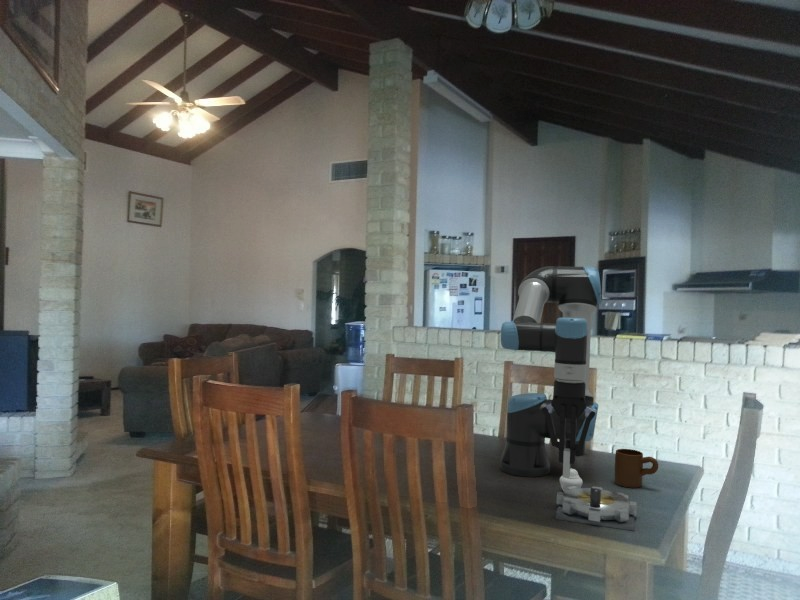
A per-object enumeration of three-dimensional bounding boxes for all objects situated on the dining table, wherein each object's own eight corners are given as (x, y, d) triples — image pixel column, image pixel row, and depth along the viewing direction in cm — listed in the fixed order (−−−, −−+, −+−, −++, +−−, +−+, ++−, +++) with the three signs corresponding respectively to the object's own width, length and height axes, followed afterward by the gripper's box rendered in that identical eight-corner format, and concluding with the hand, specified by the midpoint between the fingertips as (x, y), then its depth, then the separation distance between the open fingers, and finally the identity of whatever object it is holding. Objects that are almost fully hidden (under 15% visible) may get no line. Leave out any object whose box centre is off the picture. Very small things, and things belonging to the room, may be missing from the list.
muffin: (568, 498, 164) (569, 472, 164) (554, 491, 170) (555, 466, 169) (587, 496, 166) (588, 470, 166) (572, 488, 172) (573, 464, 172)
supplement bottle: (587, 452, 211) (588, 418, 211) (581, 457, 205) (582, 421, 205) (567, 449, 215) (568, 415, 215) (561, 453, 209) (562, 418, 209)
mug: (661, 487, 175) (662, 455, 175) (653, 494, 170) (654, 460, 169) (619, 478, 183) (621, 447, 183) (610, 484, 177) (611, 451, 177)
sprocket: (553, 514, 149) (554, 488, 148) (560, 491, 166) (561, 467, 166) (637, 527, 142) (638, 499, 142) (635, 501, 160) (636, 476, 160)
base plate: (555, 518, 149) (555, 514, 149) (562, 495, 166) (562, 491, 166) (634, 530, 143) (634, 526, 143) (633, 505, 160) (633, 501, 160)
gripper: (540, 380, 149) (537, 476, 150) (597, 384, 145) (593, 484, 145) (544, 376, 157) (541, 469, 157) (598, 380, 152) (594, 475, 152)
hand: (566, 476), depth 151 cm, fingers closed
